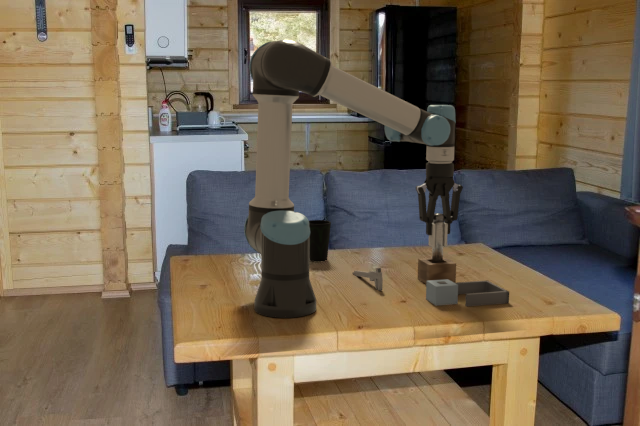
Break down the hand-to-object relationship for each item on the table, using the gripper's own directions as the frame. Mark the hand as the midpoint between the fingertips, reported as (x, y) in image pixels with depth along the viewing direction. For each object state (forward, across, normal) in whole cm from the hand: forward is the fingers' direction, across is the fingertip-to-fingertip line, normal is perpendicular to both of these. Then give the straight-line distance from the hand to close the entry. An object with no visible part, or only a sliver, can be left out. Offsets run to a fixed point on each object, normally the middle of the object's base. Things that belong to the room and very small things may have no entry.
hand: (437, 245), depth 213 cm
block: (+10, -7, -19) cm, 23 cm away
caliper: (+11, -19, +4) cm, 22 cm away
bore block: (+10, 0, 0) cm, 10 cm away
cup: (+10, -25, +34) cm, 43 cm away
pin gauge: (+6, 0, 0) cm, 6 cm away
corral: (+10, +3, -19) cm, 22 cm away
